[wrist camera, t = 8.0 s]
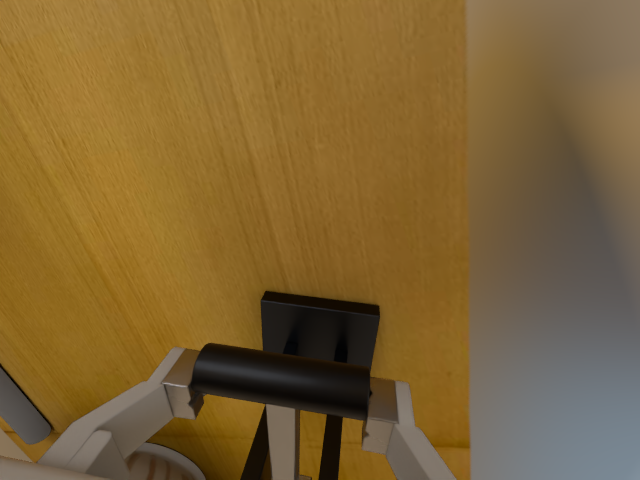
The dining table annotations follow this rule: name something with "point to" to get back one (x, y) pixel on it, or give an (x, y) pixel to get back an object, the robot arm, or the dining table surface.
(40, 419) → the gray half cylinder
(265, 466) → the lever stand
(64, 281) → the dining table surface
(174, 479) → the decorative bowl
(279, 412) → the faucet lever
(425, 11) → the dining table surface
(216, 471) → the dining table surface
